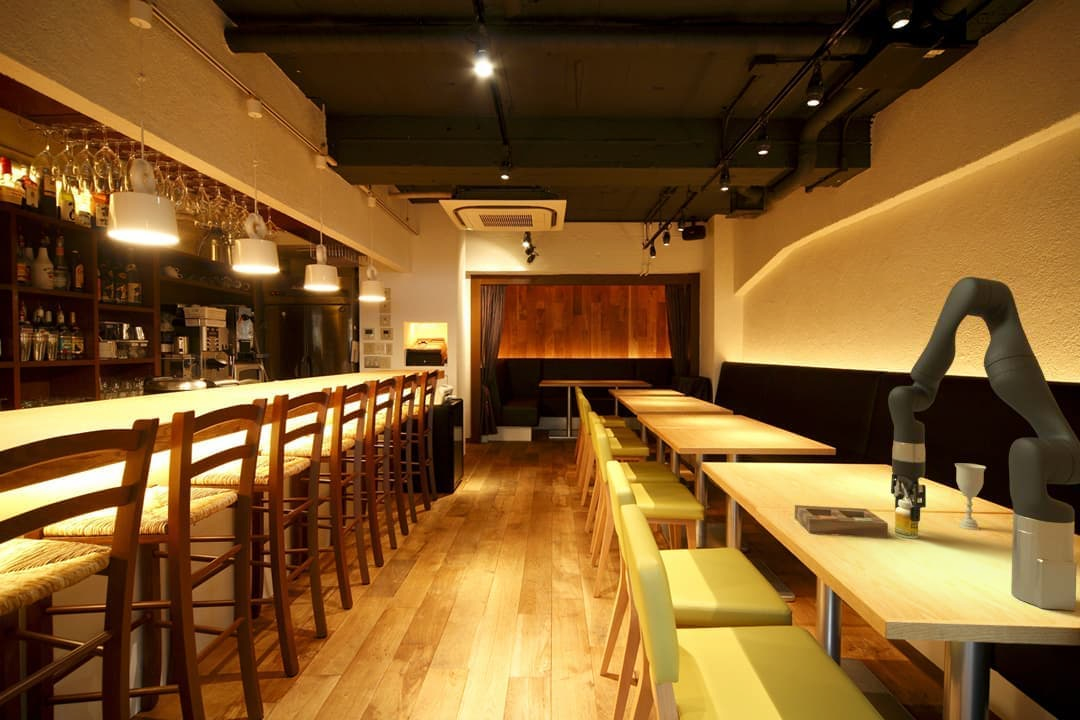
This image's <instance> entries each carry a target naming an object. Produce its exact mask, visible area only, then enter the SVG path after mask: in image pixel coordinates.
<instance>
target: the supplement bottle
mask: <svg viewBox="0 0 1080 720" xmlns="http://www.w3.org/2000/svg"><path fill="white" fill-rule="evenodd" d="M898 505H899V507H897V508H896V509H895V508H894V512H895V513H894V514H895V515H894V520H895V521H894V534H895V535H896V536H898V537H900V538H904V539H911V540H915V539H917V538H918V537H919V522H915V521H911V520H910V503H909V500H907V499H905V500H898Z"/></svg>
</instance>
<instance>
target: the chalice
mask: <svg viewBox="0 0 1080 720" xmlns="http://www.w3.org/2000/svg"><path fill="white" fill-rule="evenodd" d="M954 466H955V467H956V478H955V479H956V483H957V486H958V489H959V491H960V492H961V494H962V496H964V497H965V498H966V503H965V505H966V508H965V512H966V516H965V517H962V518H961V519H960V521H959V523H958V524H957V526H958V527H959V528H962V529H966V530H971V531H979V530H980V527H979V524H978V522H977V521H976V519H973V517H972V512H974V511H973V509H972V506H973V505H974V504H973V503H972V500H973V498H976V497H977V496H978V494H979V493H980V491H981V490H982V488H983V485H984V474H985V473H984V472H985V470H986V469H987V467H986V466H985V465H980V464H976V463H964V462H963V463H961V462H958V463H954Z"/></svg>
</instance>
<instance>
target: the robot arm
mask: <svg viewBox="0 0 1080 720" xmlns="http://www.w3.org/2000/svg"><path fill="white" fill-rule="evenodd" d="M968 316H972V317H977V318H981V319H982V321H983V322H984V323H985V324H986V327H987V330H988V332H989V335H990V340H989V341H990V342H989V344H988V346H987V348H986V351H985V354H984V356H983V357H984V358H983V368H984V371H985V373H986V376H987V378H988V379H987V380H988V381H989V383H990V386H991V388H992V389H993V391H994V393H995V394H996V395H997V396H998V397H999V398H1000V399H1001V400H1002V401H1003V402H1004V403H1006V404H1007V405H1009V407H1011V409H1013V410H1014V411H1015V412H1016V413H1018V414H1020V415H1021V416H1022V418H1024V419H1025V420H1026V421H1027V422H1028V423H1029V424H1030V425H1031V427H1032V428H1033V429H1034V431H1035V433H1036V435H1037V436H1038V437H1020V438H1018V439H1015V440H1014V442H1013V443H1011V446H1010V449H1009V453H1008V454H1009V455H1008V469H1009V493H1010V498H1011V501H1012V510H1013V511H1012V543H1011V544H1012V545H1011V547H1012V548H1011V589H1010V591H1011V595H1013V597H1014V598H1017V599H1018V600H1021V601H1023V602H1025V603H1028V604H1031V605H1034V606H1036V607H1038V608H1040V609H1049V610H1051V609H1052V610H1061V611H1062V610H1063V611H1077V610H1076V609H1077V608H1076V605H1077V604H1076V603H1077V602H1076V601H1077V600H1076V599H1077V596H1076V595H1077V570H1078V569H1077V567H1078V565H1077V563H1076V562H1075V561H1074V550H1075V548H1074V544H1075V543H1074V541H1075V517H1076V516H1075V509H1074V507H1073V506H1072V505H1071V504H1069V503H1067V502H1064V501H1060V500H1058V499H1055V498H1053V497H1051V496H1050V495H1049V494H1048V490H1047V489H1048V488H1047V485H1051V484H1052V485H1078V484H1080V440H1079V439H1078V437H1077V436H1076V434H1075V432H1074V430H1073V429H1072V427H1071V425H1070V424H1069V423H1068V421H1067V419H1066V417H1065V416H1064V414H1063V412H1062V411H1061V409H1060V407H1059V405H1058V403H1057V401H1056V398H1055V397H1054V395H1053V393H1052V391H1051V389H1050V387H1049V385H1048V382H1047V379H1046V376H1045V374H1044V372H1043V370H1042V367H1041V366H1040V365H1041V364H1040V363H1039V361H1038V358H1037V357H1036V355H1035V352H1034V351H1033V349H1032V346H1031V343H1030V341H1029V339H1028V337H1027V335H1026V332H1025V329H1024V327H1023V325H1022V322H1021V318H1020V315H1019V311H1018V307H1017V304H1016V302H1015V298H1014V294H1013V293H1012V290H1011V288H1010V287H1009V286H1008V285H1007V284H1005V283H1004V282H1002V281H998V280H994V279H988V278H982V277H975V276H965V277H963V278H961V279H960V280H958V281H957V282H956V283H955V284H954V285H953V286H952V288H951V290H950V291H949V292H948V295H947V297H946V299H945V302H944V304H943V306H942V308H941V311H940V313H939V316H938V318H937V321H936V324H935V326H934V327H933V331H932V334H931V336H930V338H929V340H928V343H927V344H926V346H925V348H924V349H923V351H922V353H921V354H920V356H919V357H918V358H917V360H916V362H915V363H914V365H913V367H912V368H911V370H910V377H911V379H912V380H913V381H914V383H913V384H912V385H906V386H905V385H900V386H896V387H894V388H893V389H892V390H891V391H890V392H889V395H888V401H887V402H888V403H887V404H888V408H889V412H890V416H891V420H892V423H893V426H894V428H893V429H894V430H893V443H892V444H893V445H892V452H891V453H892V456H891V457H892V458H891V460H892V461H891V463H892V464H891V472H892V473H891V481H890V483H891V484H890V493H891V495H893V497H894V498H895V499H894V510H895V509H896V508H897V507H899V505H898V500H909V503H910V520H911V521H915V522H918V523H919V522H920V521H921V509H922V508H926V507H927V496H926V495H927V494H926V493H927V491H926V490H927V489H926V487H927V486H926V484H920V483H919V482H920V481H919V479H921V478H924V477H925V473H926V447H925V441H926V440H925V438H926V437H925V436H926V434H925V433H926V429H925V424H924V423H923V422H922V421H919V420H916V418H915V416H914V412H923V411H925V410H927V409H928V408H930V406H932V404H933V403H934V401H935V399H936V396H937V394H938V390H939V386H940V383H941V381H942V379H943V378H944V377H945V376H946V373H947V372H948V371H949V370H950V368H951V367H952V365H953V362H954V361H955V358H956V352H957V351H956V350H957V349H956V348H957V347H956V336H957V332H958V328H959V327H960V325H961V323H962V322H963V321H964V319H965V318H966V317H968Z"/></svg>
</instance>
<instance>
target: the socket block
mask: <svg viewBox="0 0 1080 720" xmlns="http://www.w3.org/2000/svg"><path fill="white" fill-rule="evenodd" d="M794 519H795V520H796V521H797V522H798V524H800V525H801V526H802V528H804V529H805V530H806V532H808V534H816V533H817V534H818V535H819V534H820V535H832V534H838V535H837V536H848V535H853V537H865V536H867V537H868V538H883V539H888V537H889V535H888V534H889V532H888V530H889V529H888V527H889V523H888V522H887V521H885V520H884V519H882V518H880V517H879V516H878V515H876V513H873V511H872V512H871V511H870V510H869V509H867V508H856V507H855V508H854V507H840V506H839V507H838V506H837V507H836V506H820V505H818V506H817V505H803V504H802V505H801V504H795V505H794ZM867 537H866V538H867Z"/></svg>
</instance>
